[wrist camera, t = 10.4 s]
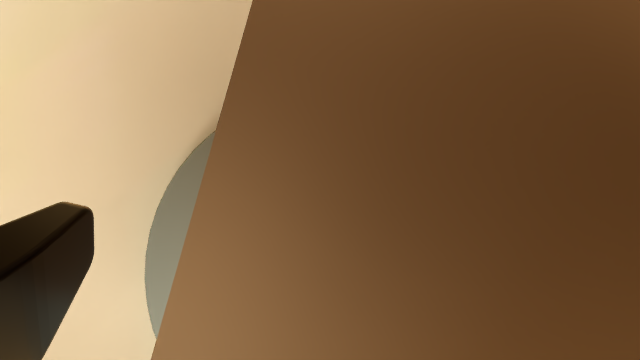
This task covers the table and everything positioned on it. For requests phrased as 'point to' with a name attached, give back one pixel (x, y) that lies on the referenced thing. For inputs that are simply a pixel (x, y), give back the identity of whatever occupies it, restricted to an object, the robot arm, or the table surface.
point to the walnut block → (419, 186)
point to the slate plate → (172, 231)
